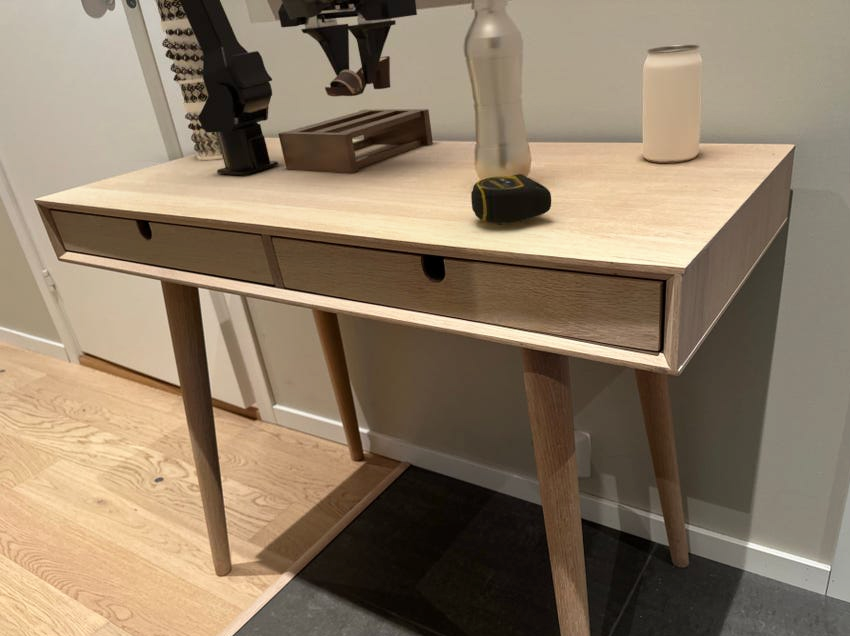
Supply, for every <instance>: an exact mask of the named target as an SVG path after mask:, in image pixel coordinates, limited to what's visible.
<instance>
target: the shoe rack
mask: <svg viewBox="0 0 850 636" xmlns="http://www.w3.org/2000/svg"><path fill="white" fill-rule="evenodd" d="M358 137H363V138H361V139H358V140H355V141H353V139H355V138H358ZM278 138H279V143H280V148H281V151H282V156H283V161H284V165H285V169H286V170H293V171H295V170H296V171H310V172H325V173H326V172H327V173H342V174H343V173H345V174H354V173H357V172H359V169H361V168H364V167H367V166H370V165H372V164H375V163H377V162H380V161H383V160H386V159H389V158H391V157H395V156H397V155H401V154H402V153H405V152H408V151H412V150H413V149H416V148H419V147H421V146H430V145H432V144H434V140H433V134H432V126H431V119H430V111H429V109H427V108H420V109H419V108H417V109H416V108H415V109H414V108H413V109H412V108H405V109H404V108H403V109H401V108H399V109H396V108H395V109H394V108H391V109H389V108H388V109H383V108H381V109H379V108H378V109H376V108H375V109H361V110H358V111H356V112H353V113H348V114H345V115H342V116H338V117H334V118H331V119H327V120H324V121H320V122H316V123H313V124H309V125H306V126H302V127H299V128H295V129H291V130H287V131H282V132H278ZM370 145H394V146H391V147H388V148H386V149H383V150H379V151H377V152H374V153H371V154H368V155H366V156H363V157H360V158H357V157H356V152H355V151H356V150H360V149H362V148H364V147H368V146H370Z"/></svg>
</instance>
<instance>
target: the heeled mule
mask: <svg viewBox="0 0 850 636" xmlns="http://www.w3.org/2000/svg"><path fill="white" fill-rule="evenodd" d="M390 62H391V57H390V55H386V56H381V57H380V61H379V65H378V69H377V72H376V76H375V80H374V83H372V86H373V89H374V90H385V89H389V88H391V63H390ZM367 85H368V84H366V81H365V78H364V74H363V70H362V66H361V67H360V68H359V69H358V70H357V71H356V72H355V71H353V70H351V69H349V70H343V71H341V72H340V74H339V75H338V76H337V75H336V76H335V78H333V80H331V81H330V83H329V86H324V89H325V92H326V94H327V96H328V97H329V96H330V97H355V96H359V95H362V94H364V91H365V89H366V87H367Z"/></svg>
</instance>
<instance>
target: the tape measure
mask: <svg viewBox="0 0 850 636" xmlns="http://www.w3.org/2000/svg"><path fill="white" fill-rule="evenodd" d="M470 193H471V194H470V199H471V208H472V211H473V213H474V216H475V217H477V218H478V219H479V220H480V221H483V222H487V223H493V224H496V225H498V226H502V225H505V224H512V223H513V224H514V223H520V222H523V221H527V220H529V219H532V218H535V217H538V216H539V217H540V216H542V215H544V214H546V213H548V212H549V211H550V210H551V208H552V194H551V191H550V190H549V189H548V188H547V187H546V186H544V185H543V184H541V183H540V182H538V181H535V180H534V179H531V178H530V177H528V176H527V177H526V176H524V175H522V174H517V175H513V176H497V177H490V178H486V179H483V180H480V179H479V180H478V181H477V182H475V183H474V185H473V187H472V190H471V192H470Z"/></svg>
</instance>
